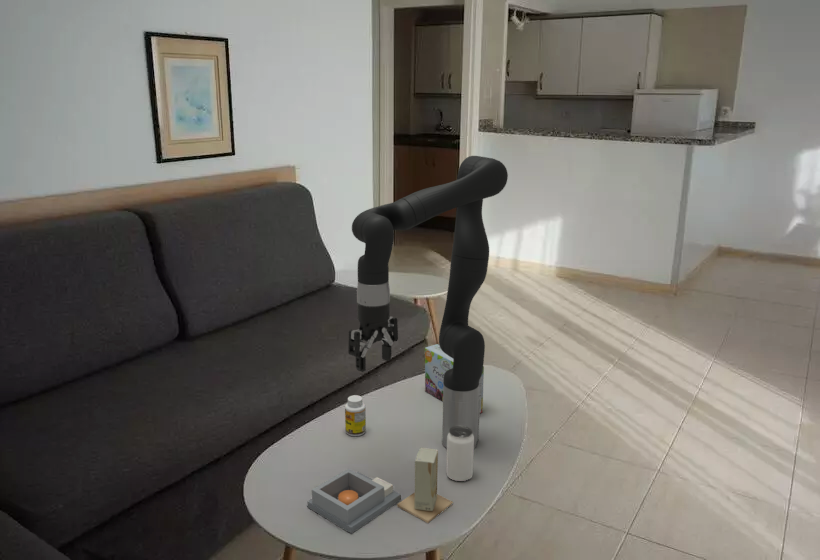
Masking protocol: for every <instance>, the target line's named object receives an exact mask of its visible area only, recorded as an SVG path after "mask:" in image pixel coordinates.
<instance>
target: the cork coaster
mask: <svg viewBox="0 0 820 560" xmlns="http://www.w3.org/2000/svg"><path fill="white" fill-rule="evenodd" d="M452 503H453V504H454V502H453V501H451V500H450V499H448V498H446V497H444V496H442V495H440V494H438V493H437V499H436V503H435V506H434V509H433V511H426V510H419V509H415V491H414V492H413V493H411V494H410V495H409V496H406V497H405V498H404V499H403V500H400V501H399V502H397V503H396V504H397V505H396V508H397V507H398V508H399V509H401V510H403V511H405V512H406V513H408V514H410V515H411V516H414V517H416V518H417V519H419V520H421V521H423V522H425V523H427V524H429V523H430V522H432V521H433V520H434V519H435V518H437V517H438V516H439V515H441V514H442V513H443V512H445V511H446V510H447V509H448V508H447V507H449V506H450V505H451V504H452ZM451 506H452V505H451ZM451 506H450V507H451ZM450 507H449V508H450ZM446 508H447V509H446ZM445 509H446V510H445ZM444 510H445V511H444ZM442 511H443V512H442ZM441 512H442V513H441ZM440 513H441V514H440ZM438 514H439V515H438ZM437 515H438V516H437ZM436 516H437V517H436Z"/></svg>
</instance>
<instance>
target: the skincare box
mask: <svg viewBox="0 0 820 560" xmlns="http://www.w3.org/2000/svg"><path fill="white" fill-rule="evenodd" d="M438 459H439V450H438V449H437V448H428V447H419V449H418V452H417V454H416V457H415V460H414V492H415V509H419V510H426V511H433V509H434V506H435V503H436V499H437V494H438V467H439V465H438V462H439V460H438Z"/></svg>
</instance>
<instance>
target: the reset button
mask: <svg viewBox="0 0 820 560" xmlns="http://www.w3.org/2000/svg"><path fill="white" fill-rule="evenodd" d="M357 499H359V496H358V493H357V492H355V491H353V490H345V491H342V492H341V493H340V494H339V495H338V498H337V500H339V501H341V502H342V503H344V504H346V505H349V504H351V503H352V502H354V501H355V500H357Z"/></svg>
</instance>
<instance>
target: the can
mask: <svg viewBox="0 0 820 560" xmlns="http://www.w3.org/2000/svg"><path fill="white" fill-rule="evenodd" d="M472 433H473V431H472V429H470V428H469V427H466V426H454V427H452V428H450V430H449V434H448V436H447V448H446V477H448V479H450V480H451V479H452V480H451V481H453V480H455V481H454V482H457V481H464V482H467V481H469V480H470V479H471V478H472V477H473V474H474V452H475V451H474V449H475V448H474V436H473V434H472ZM468 479H469V480H468ZM466 480H467V481H466Z"/></svg>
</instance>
